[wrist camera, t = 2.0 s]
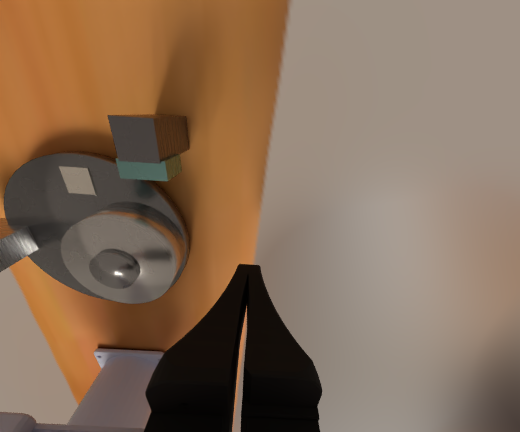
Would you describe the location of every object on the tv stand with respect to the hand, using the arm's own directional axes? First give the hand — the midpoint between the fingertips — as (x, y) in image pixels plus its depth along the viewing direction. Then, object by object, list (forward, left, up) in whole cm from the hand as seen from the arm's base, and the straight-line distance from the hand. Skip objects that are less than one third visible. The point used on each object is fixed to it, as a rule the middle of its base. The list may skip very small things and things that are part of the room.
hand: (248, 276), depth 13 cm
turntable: (0, +12, -4) cm, 12 cm away
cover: (0, +9, -3) cm, 9 cm away
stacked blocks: (+8, +6, -4) cm, 11 cm away
